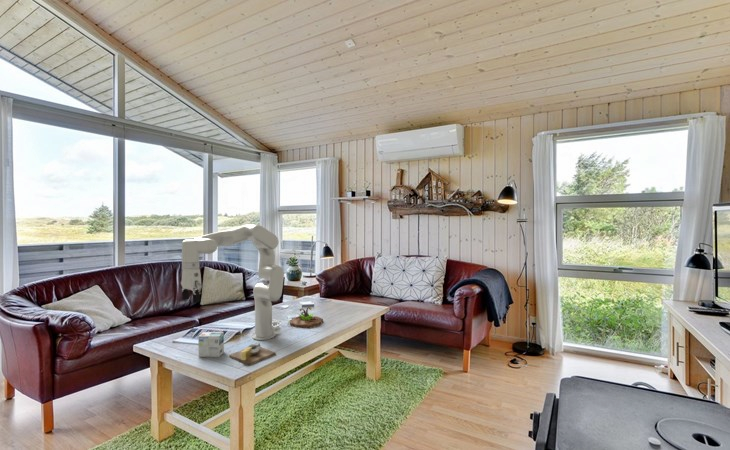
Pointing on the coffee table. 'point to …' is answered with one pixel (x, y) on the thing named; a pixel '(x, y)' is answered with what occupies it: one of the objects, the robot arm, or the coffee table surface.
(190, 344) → the coffee table surface
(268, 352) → the wooden cheese board
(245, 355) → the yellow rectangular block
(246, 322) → the coffee table surface
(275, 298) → the robot arm
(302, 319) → the plant
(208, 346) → the light bulb box
